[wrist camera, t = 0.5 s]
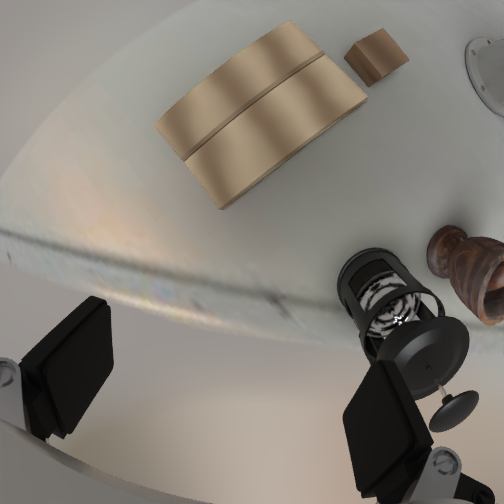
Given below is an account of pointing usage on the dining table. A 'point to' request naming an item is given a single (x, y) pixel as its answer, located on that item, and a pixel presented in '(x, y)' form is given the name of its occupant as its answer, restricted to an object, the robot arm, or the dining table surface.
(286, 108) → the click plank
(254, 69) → the laid board
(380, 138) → the dining table surface
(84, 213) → the dining table surface
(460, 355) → the french press
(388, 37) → the walnut block
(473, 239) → the mortar and pestle
